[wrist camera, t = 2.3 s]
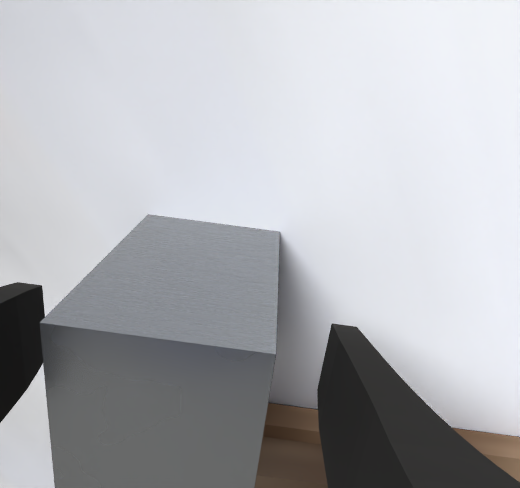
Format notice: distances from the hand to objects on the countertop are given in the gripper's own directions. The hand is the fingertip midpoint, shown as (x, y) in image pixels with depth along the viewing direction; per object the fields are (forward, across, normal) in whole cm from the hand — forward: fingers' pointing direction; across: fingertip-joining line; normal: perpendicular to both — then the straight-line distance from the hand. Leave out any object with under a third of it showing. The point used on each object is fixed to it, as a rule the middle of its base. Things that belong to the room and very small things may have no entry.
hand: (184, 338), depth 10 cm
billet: (+3, 0, 0) cm, 3 cm away
